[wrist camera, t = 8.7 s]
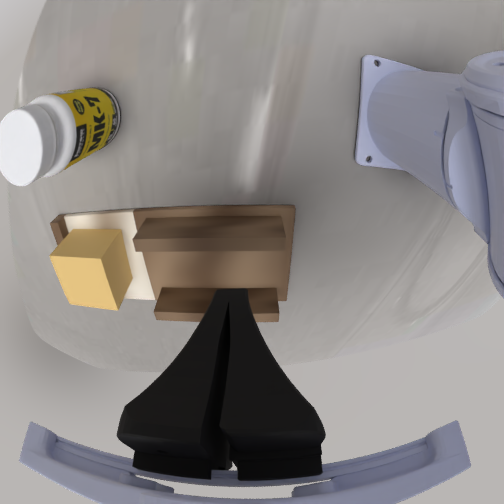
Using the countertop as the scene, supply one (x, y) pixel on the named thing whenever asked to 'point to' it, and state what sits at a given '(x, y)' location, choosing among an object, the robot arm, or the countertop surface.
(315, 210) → the countertop surface
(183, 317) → the walnut chute
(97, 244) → the ochre block
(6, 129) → the supplement bottle
